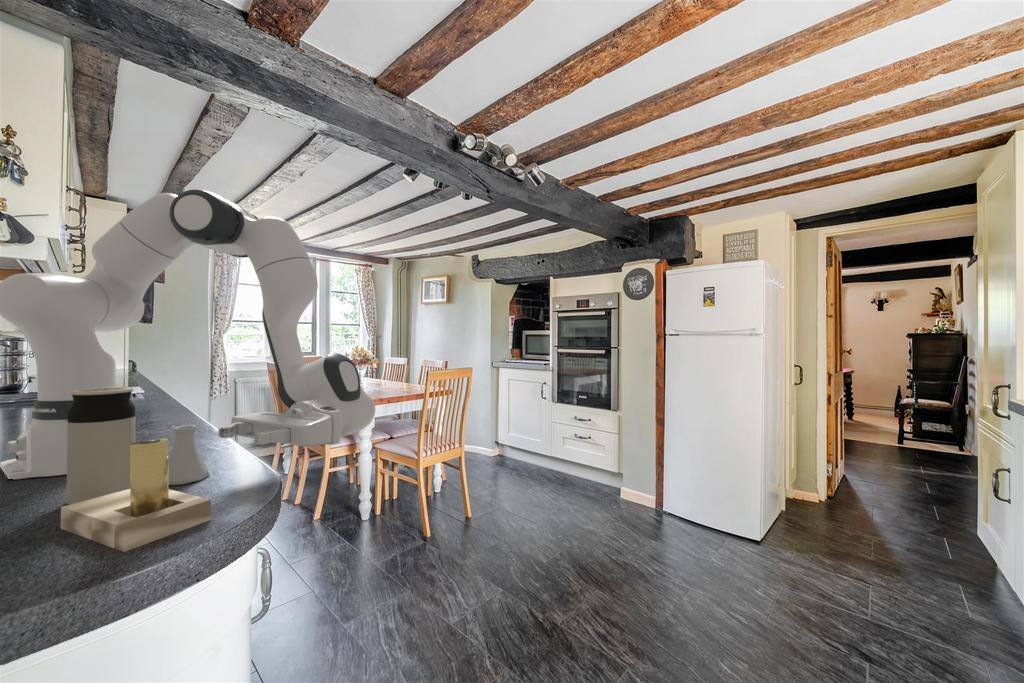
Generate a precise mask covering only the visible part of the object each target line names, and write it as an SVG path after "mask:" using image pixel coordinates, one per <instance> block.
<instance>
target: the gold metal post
mask: <svg viewBox="0 0 1024 683" xmlns="http://www.w3.org/2000/svg"><path fill="white" fill-rule="evenodd" d="M168 459H169V438H150V439H144V440H143V439H142V440H138V441H135V442H134V443H131V444H130V516H132V517H135V518H137V517H140V516H144V515H147V514H150V513H153V512H156V511H159V510H163V509H166V508H169V489H170V488H169V486H170V485H169V465H168Z"/></svg>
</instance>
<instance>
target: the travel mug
mask: <svg viewBox="0 0 1024 683" xmlns="http://www.w3.org/2000/svg"><path fill="white" fill-rule="evenodd" d="M133 391H134V387H129V386H118V387H117V386H115V387H106V388H90V389H80V390H73V391H71V392H70V394H71V395H72V396H73V401H74V404H73V405H72V406H71V408H70V409H69V411H68V412H67V474H66V504H67V505H70V504H74V503H78V502H81V501H85V500H89V499H93V498H97V497H101V496H104V495H108V494H112V493H116V492H120V491H123V490H127V489H130V444H131V443H134V442H136V405H135V404H134V403H133V401H132V399H131V396H132V392H133Z"/></svg>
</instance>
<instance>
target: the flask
mask: <svg viewBox="0 0 1024 683" xmlns="http://www.w3.org/2000/svg"><path fill="white" fill-rule="evenodd" d="M196 429H197V425H193V424H192V425H191V424H190V425H188V424H187V425H180V426H176V427H173V429H172V430H173V432H175V437H174V438H175V439H174V443H173V447H172V450H171V452H170V455H169V456H168V465H169V486H177V485H178V486H179V485H180V486H181V485H182V486H183V485H185V484H190V483H193V482H198V481H201V480H204V479H206V478H207V477H209V476H210V475H211V474H210V472H209V470H208V468H207V466H206V464H205V461H204V460H203V457H202V454H201V453H200V451H199V448H198V446H197V443H196V442H197V441H196V438H195V430H196Z"/></svg>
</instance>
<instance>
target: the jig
mask: <svg viewBox="0 0 1024 683" xmlns="http://www.w3.org/2000/svg"><path fill="white" fill-rule="evenodd" d="M211 520H212V499H211V498H208V497H207V498H206V497H203V496H198V495H194V494H190V493H188V492H187V493H186V492H183V491H180V490H179V491H178V490H174V489H170V488H169V508H166V509H163V510H159V511H156V512H153V513H150V514H147V515H144V516H140V517H137V518H135V517H132V516H130V489H127V490H123V491H120V492H116V493H112V494H108V495H104V496H101V497H97V498H93V499H89V500H85V501H81V502H78V503H74V504H67V505H63V506H60V529H61V530H64V531H66V532H69V533H71V534H74V535H77V536H80V537H82V538H85V539H88V540H91V541H92V542H93V541H94V542H96V543H98V544H100V545H101V544H102V545H104V546H106V547H109V548H112V549H114V550H117V551H119V552H122V553H126V552H128V551H131V550H134V549H137V548H140V547H142V546H145V545H148V544H150V543H152V542H154V541H158V540H161V539H164V538H167V537H169V536H172V535H175V534H177V533H180V532H182V531H185V530H188V529H191V528H192V527H193V528H194V527H195V526H198V525H201V524H204V523H206V522H209V521H211Z"/></svg>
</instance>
